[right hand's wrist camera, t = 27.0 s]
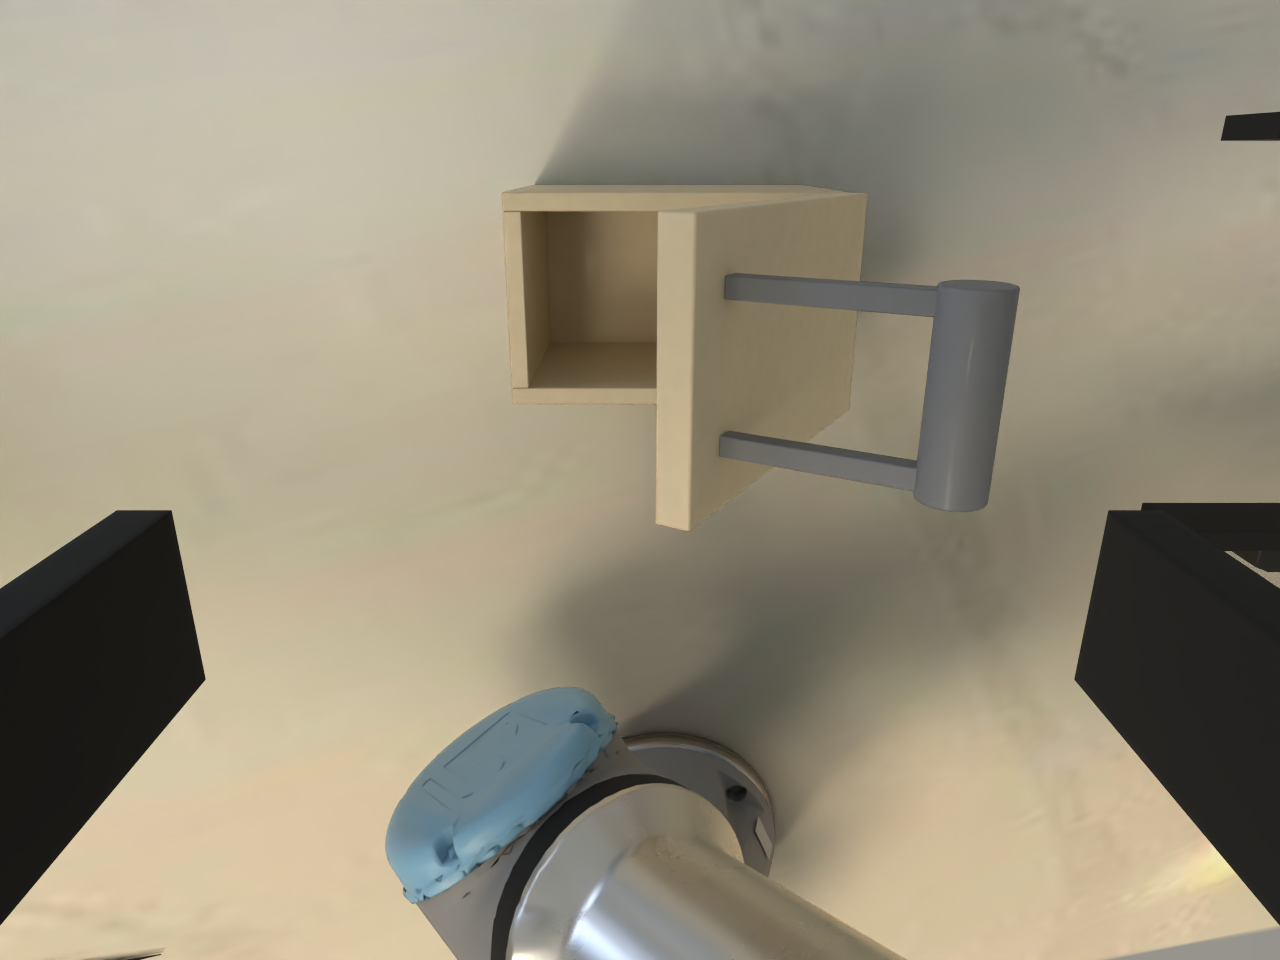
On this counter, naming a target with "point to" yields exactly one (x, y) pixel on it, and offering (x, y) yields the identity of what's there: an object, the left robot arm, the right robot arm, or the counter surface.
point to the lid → (807, 357)
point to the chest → (594, 285)
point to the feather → (144, 957)
